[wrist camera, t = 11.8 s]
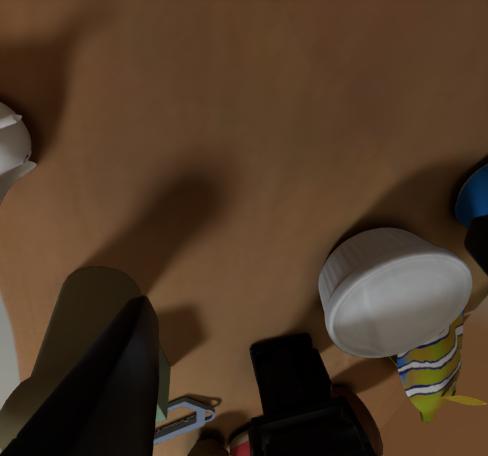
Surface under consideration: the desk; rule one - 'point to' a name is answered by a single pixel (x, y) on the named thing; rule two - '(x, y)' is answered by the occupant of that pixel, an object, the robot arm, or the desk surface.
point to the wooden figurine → (362, 418)
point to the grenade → (208, 449)
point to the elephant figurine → (13, 149)
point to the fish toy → (434, 371)
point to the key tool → (183, 426)
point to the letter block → (163, 388)
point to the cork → (67, 339)
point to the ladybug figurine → (240, 445)
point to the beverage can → (473, 197)
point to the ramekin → (390, 292)
